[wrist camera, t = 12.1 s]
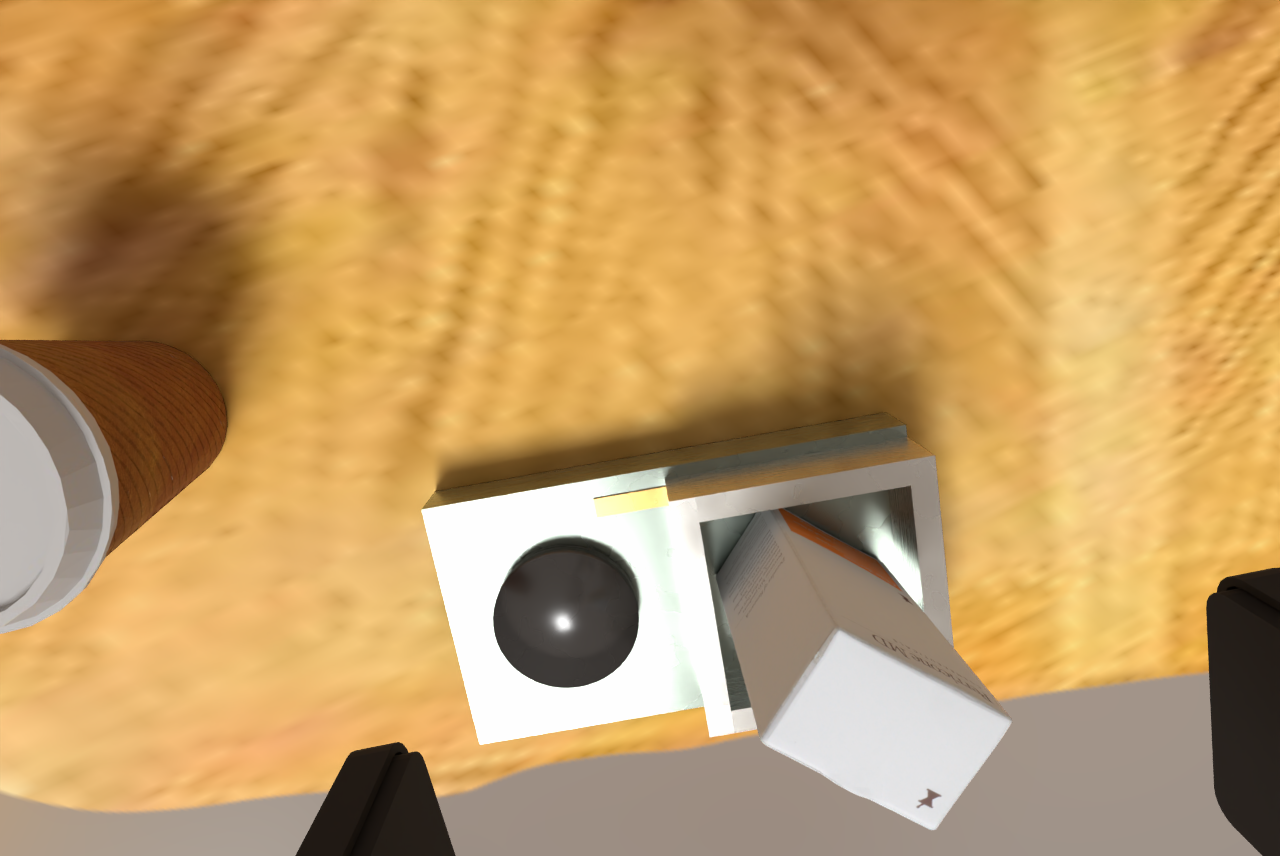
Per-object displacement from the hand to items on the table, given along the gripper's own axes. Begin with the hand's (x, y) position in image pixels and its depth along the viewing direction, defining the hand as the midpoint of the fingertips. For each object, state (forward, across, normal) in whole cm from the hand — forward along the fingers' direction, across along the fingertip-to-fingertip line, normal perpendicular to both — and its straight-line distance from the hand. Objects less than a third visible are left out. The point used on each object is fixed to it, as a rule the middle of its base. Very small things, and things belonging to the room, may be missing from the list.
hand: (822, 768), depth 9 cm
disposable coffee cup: (+26, +22, -3) cm, 34 cm away
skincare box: (+23, -3, +9) cm, 25 cm away
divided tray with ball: (+26, +2, +9) cm, 27 cm away
